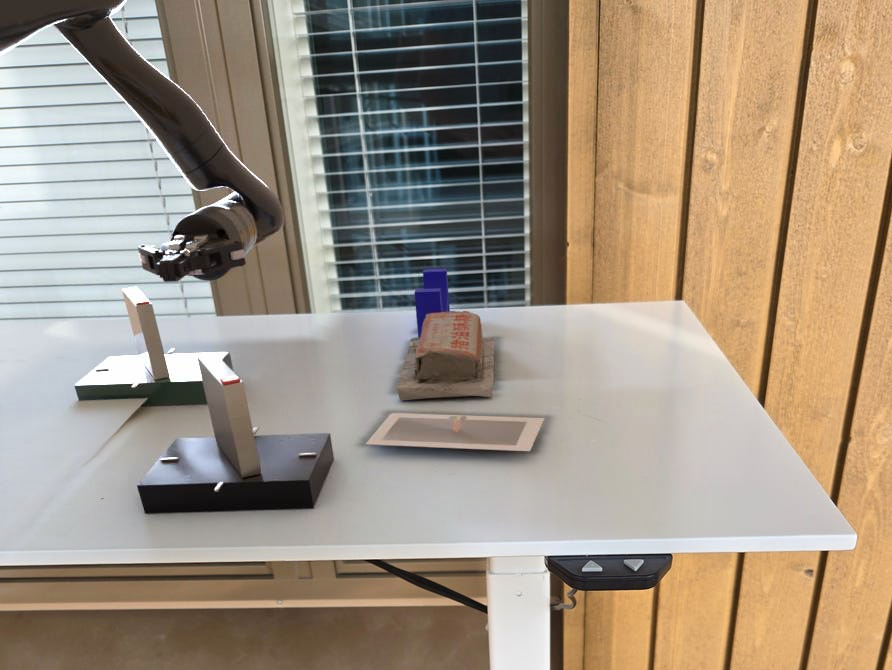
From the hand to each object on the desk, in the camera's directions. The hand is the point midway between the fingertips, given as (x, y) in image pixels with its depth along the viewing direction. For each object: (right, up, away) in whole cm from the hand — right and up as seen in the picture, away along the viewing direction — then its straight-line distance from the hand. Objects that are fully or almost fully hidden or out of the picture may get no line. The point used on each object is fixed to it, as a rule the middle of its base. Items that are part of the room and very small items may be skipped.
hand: (168, 271), depth 96 cm
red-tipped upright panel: (+14, -25, -22) cm, 35 cm away
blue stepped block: (+29, 0, +17) cm, 34 cm away
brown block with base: (+31, -11, +2) cm, 32 cm away
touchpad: (+32, -22, -14) cm, 41 cm away
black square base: (+14, -27, -20) cm, 36 cm away
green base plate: (-2, -12, +2) cm, 13 cm away
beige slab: (-2, -10, +1) cm, 10 cm away
